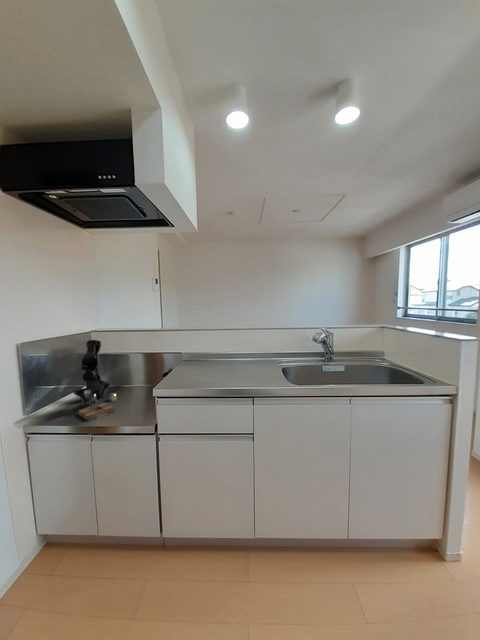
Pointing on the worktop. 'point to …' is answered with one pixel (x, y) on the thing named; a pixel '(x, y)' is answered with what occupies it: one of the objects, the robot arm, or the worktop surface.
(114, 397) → the short pin
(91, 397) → the tall pin
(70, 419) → the worktop surface
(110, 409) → the hole plate
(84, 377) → the robot arm
